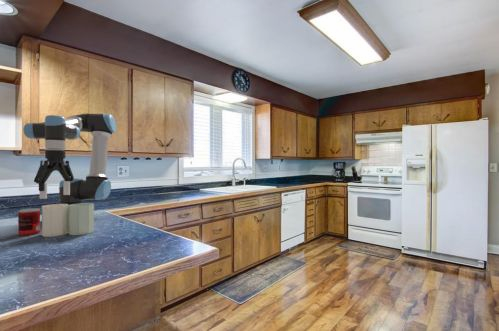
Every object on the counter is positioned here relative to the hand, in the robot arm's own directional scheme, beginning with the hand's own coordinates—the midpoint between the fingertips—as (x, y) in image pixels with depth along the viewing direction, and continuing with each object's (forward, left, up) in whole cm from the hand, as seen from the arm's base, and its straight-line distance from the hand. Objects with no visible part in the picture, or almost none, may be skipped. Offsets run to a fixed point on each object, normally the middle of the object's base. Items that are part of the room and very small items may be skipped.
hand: (55, 196), depth 120 cm
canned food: (0, -12, -17) cm, 21 cm away
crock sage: (-3, +10, -17) cm, 20 cm away
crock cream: (0, 0, -17) cm, 17 cm away
